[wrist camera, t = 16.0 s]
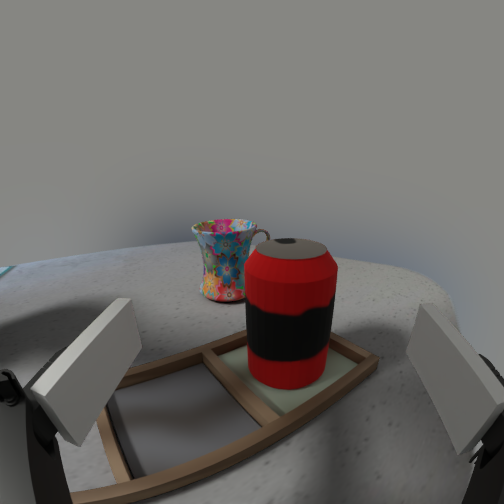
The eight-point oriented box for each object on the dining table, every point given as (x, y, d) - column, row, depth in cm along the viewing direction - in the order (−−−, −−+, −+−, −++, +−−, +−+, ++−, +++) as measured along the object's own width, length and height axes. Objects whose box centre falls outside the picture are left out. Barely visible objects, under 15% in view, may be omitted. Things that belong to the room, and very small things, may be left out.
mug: (208, 312, 37) (201, 236, 34) (191, 287, 45) (185, 223, 42) (284, 294, 42) (285, 225, 39) (256, 274, 50) (255, 215, 47)
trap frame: (-1, 408, 14) (-8, 397, 14) (292, 320, 34) (293, 310, 34) (1, 514, 4) (-12, 505, 4) (376, 368, 24) (379, 357, 24)
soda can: (311, 339, 30) (318, 233, 26) (336, 383, 22) (356, 259, 19) (243, 347, 29) (238, 238, 25) (254, 397, 21) (250, 267, 18)
